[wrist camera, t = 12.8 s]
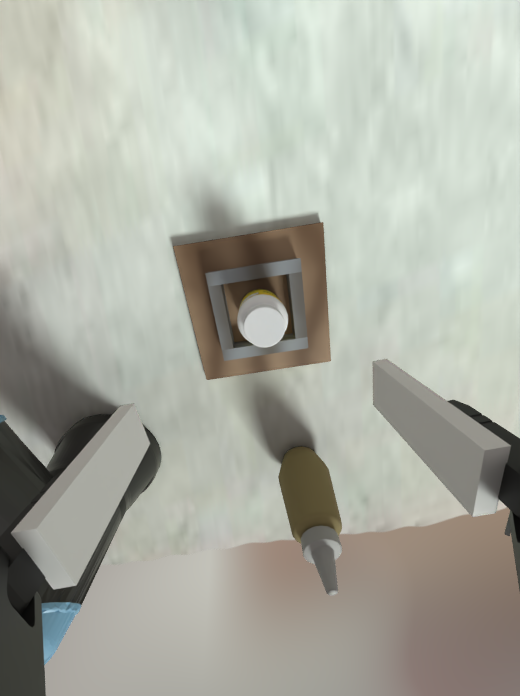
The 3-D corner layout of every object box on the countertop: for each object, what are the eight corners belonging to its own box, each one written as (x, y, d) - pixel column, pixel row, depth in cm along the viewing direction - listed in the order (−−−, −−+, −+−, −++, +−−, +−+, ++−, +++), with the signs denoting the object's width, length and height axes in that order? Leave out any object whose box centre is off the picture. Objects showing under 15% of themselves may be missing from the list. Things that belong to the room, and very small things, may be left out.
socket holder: (207, 376, 36) (203, 388, 33) (175, 246, 30) (166, 245, 27) (328, 358, 36) (336, 368, 33) (320, 223, 30) (329, 219, 27)
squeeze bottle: (269, 448, 41) (283, 580, 24) (315, 434, 41) (362, 558, 24) (284, 482, 44) (306, 621, 27) (328, 468, 43) (377, 603, 27)
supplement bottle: (288, 313, 33) (303, 334, 23) (255, 336, 34) (257, 365, 24) (265, 278, 31) (271, 287, 22) (231, 304, 32) (223, 322, 23)
